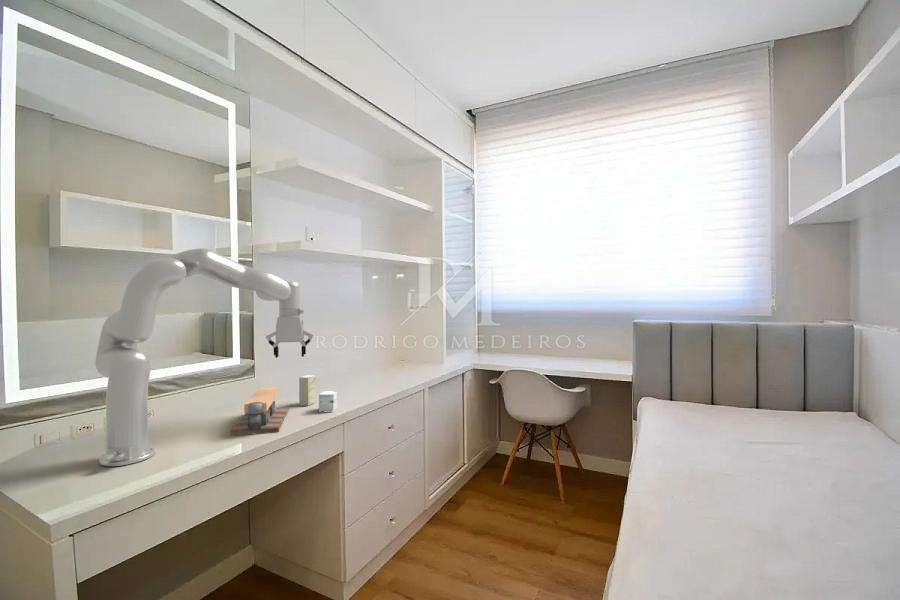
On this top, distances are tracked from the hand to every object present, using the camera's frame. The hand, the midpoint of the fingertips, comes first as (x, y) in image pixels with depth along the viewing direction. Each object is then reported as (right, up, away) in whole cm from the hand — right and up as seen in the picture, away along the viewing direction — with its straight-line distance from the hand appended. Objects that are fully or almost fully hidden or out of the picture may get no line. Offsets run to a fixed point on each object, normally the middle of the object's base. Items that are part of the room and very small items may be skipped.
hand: (290, 356), depth 163 cm
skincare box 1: (+1, -23, +16) cm, 28 cm away
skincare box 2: (+13, -23, +7) cm, 27 cm away
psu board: (-7, -23, -10) cm, 26 cm away
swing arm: (-6, -16, -10) cm, 20 cm away
